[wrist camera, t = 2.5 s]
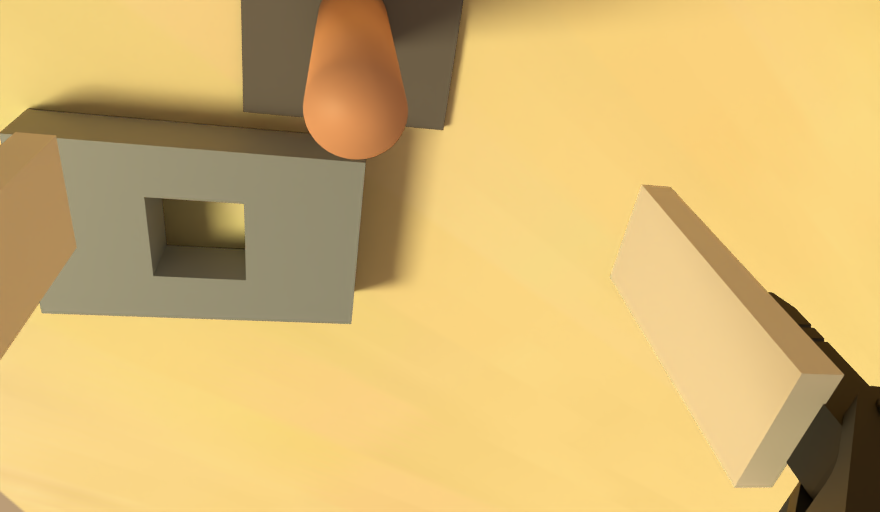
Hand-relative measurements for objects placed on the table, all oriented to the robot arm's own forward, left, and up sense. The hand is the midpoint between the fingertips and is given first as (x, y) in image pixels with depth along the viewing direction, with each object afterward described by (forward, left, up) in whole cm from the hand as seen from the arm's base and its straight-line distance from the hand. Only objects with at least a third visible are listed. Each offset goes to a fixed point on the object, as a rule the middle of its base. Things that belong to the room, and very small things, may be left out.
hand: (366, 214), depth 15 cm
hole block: (-7, -11, -18) cm, 23 cm away
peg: (0, 0, -18) cm, 18 cm away
